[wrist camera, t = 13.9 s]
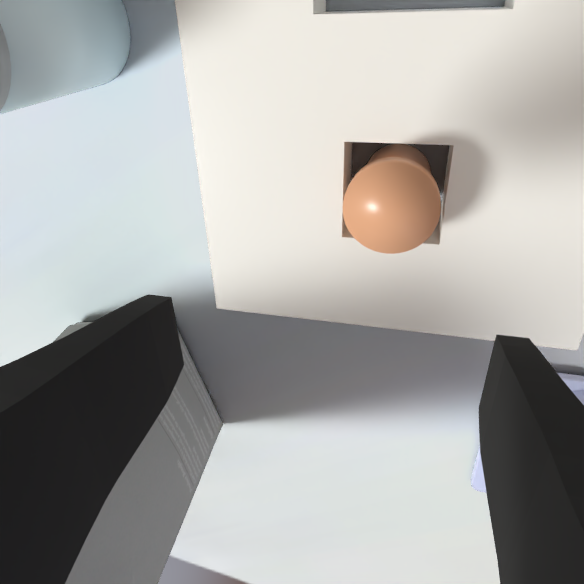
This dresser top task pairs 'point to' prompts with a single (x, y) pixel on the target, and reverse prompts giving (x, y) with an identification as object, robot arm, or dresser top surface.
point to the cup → (59, 48)
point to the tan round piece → (393, 201)
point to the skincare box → (151, 488)
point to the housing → (393, 129)
